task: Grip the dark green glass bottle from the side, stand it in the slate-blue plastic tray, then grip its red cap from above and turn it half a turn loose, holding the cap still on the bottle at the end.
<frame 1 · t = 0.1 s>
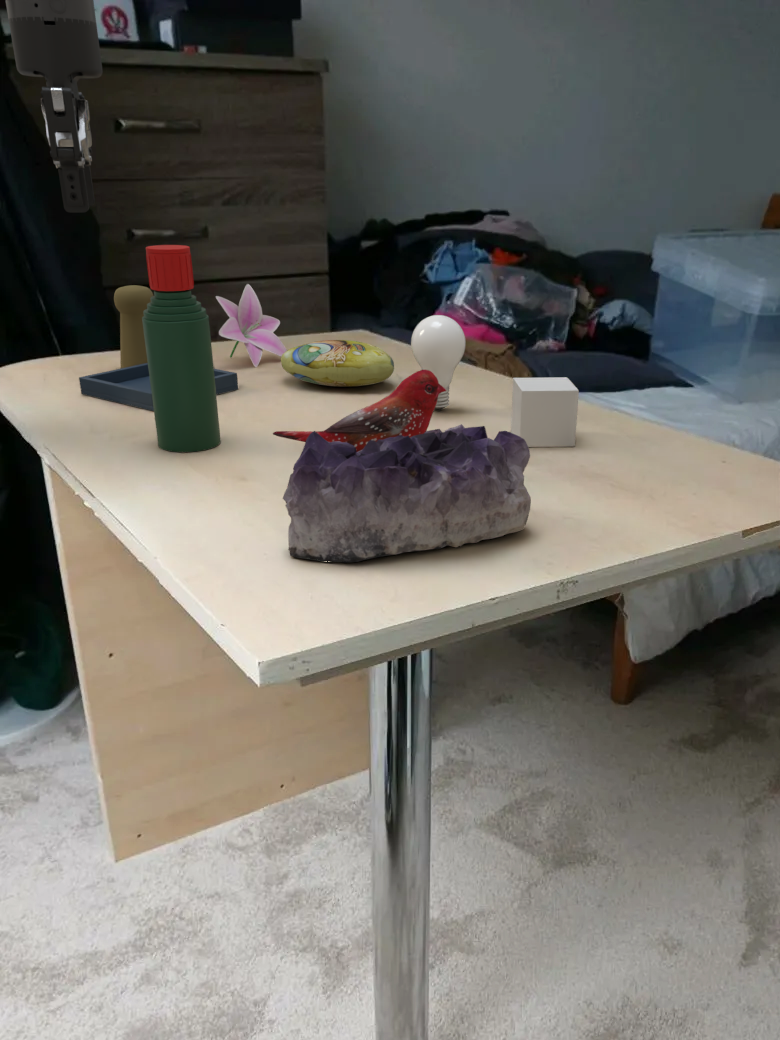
hand: (80, 208, 93), 23 cm above the table, tool pointing down, fingers open, 8 cm apart
lily: (252, 362, 136), on the table
geode: (408, 539, 77), on the table
cap: (168, 251, 91), point 19 cm above the table, screwed on, not yet turned
decorative bird figurine: (365, 485, 88), on the table
tray: (161, 391, 119), on the table
white cube: (541, 440, 103), on the table
lightbulb: (437, 411, 113), on the table
cork: (143, 370, 130), on the table
painted stone: (339, 385, 124), on the table
bottle: (189, 443, 99), on the table
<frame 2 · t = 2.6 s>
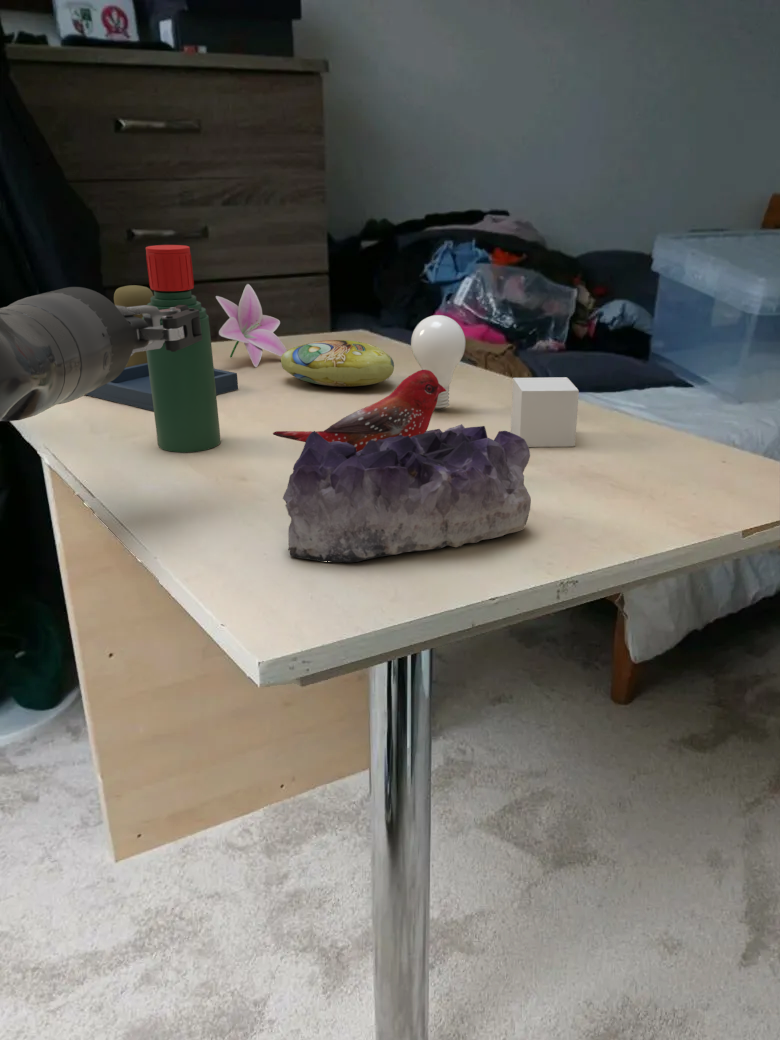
hand: (138, 317, 84), 15 cm above the table, tool horizontal, fingers open, 8 cm apart
nothing on the table moved.
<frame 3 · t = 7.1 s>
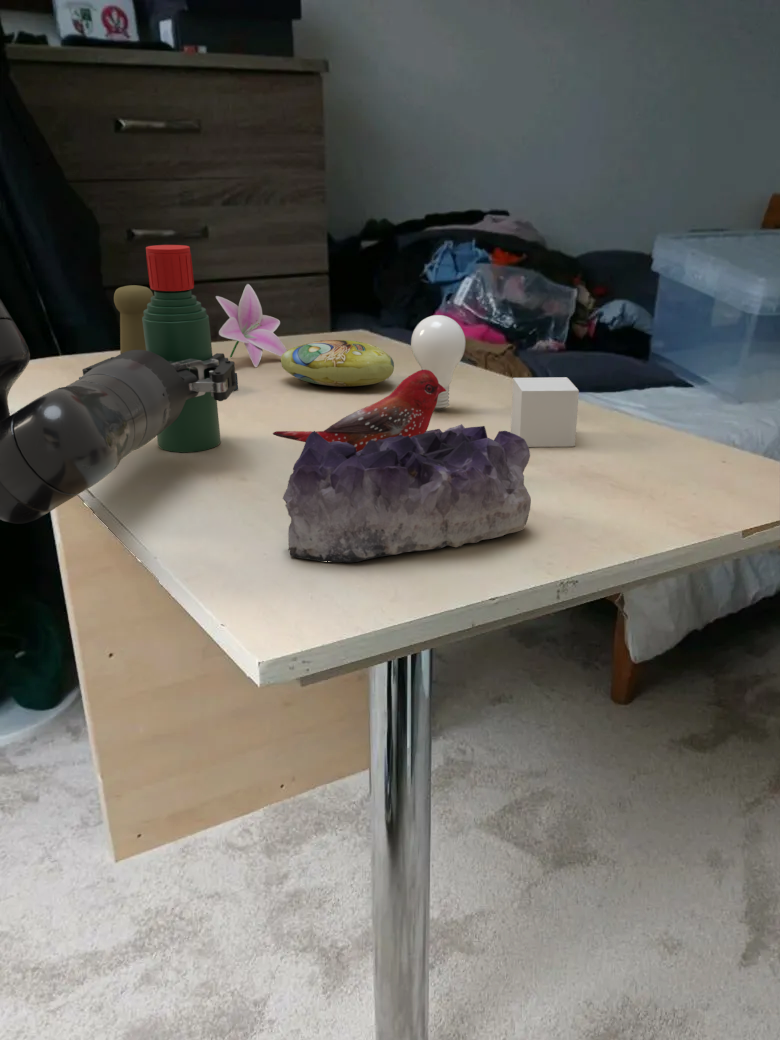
hand: (188, 362, 98), 8 cm above the table, tool horizontal, fingers closed on bottle, 6 cm apart
bottle: (189, 443, 99), on the table, touching gripper
everything else where it was.
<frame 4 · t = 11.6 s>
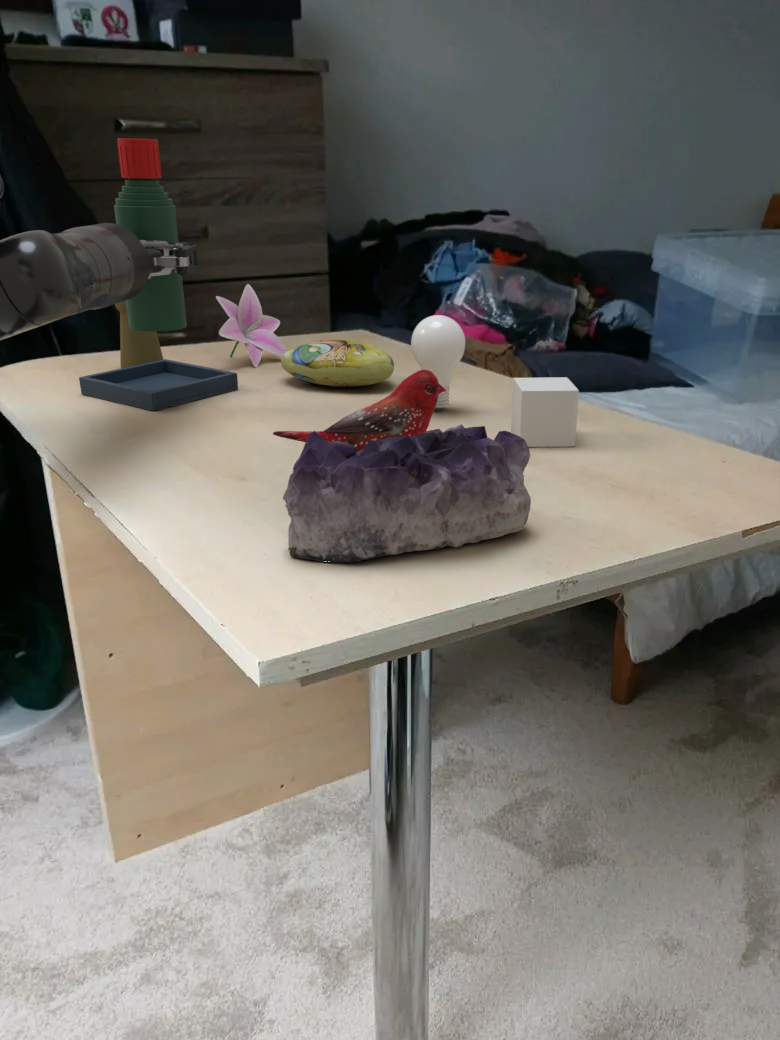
hand: (157, 251, 107), 17 cm above the table, tool horizontal, fingers closed on bottle, 6 cm apart
cap: (137, 143, 100), point 28 cm above the table, screwed on, not yet turned
bottle: (158, 326, 109), point 9 cm above the table, touching gripper
everything else where it was.
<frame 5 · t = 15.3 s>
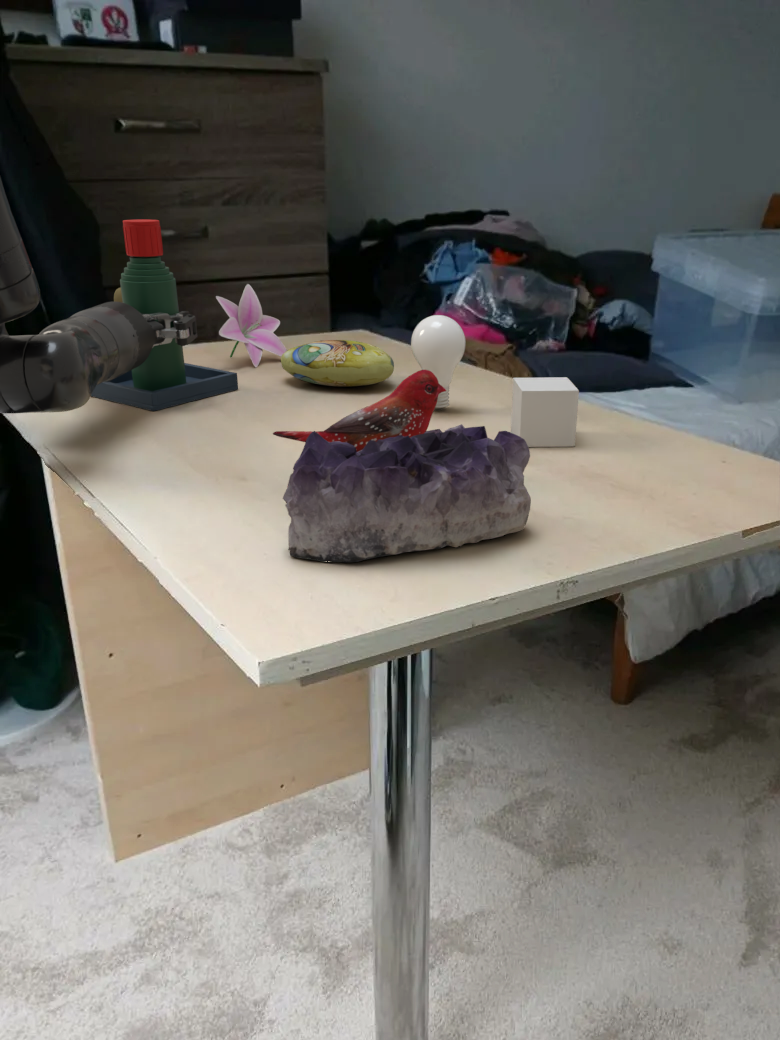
hand: (159, 318, 117), 9 cm above the table, tool horizontal, fingers closed on bottle, 6 cm apart
cap: (141, 224, 110), point 20 cm above the table, screwed on, not yet turned
bottle: (160, 387, 118), point 1 cm above the table, touching gripper, tray
everything else where it was.
when the fingers open (9 cm above the table, at t = 15.6 s): bottle stays where it is, resting on tray.
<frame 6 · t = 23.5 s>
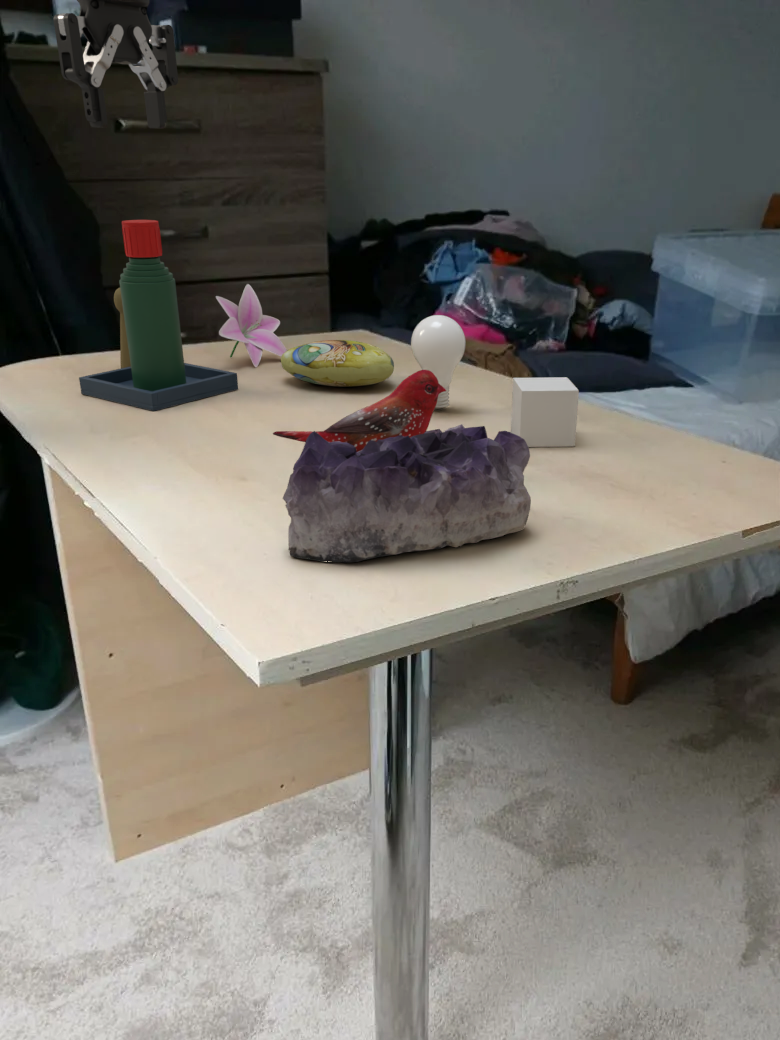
hand: (128, 127, 106), 30 cm above the table, tool pointing down, fingers open, 7 cm apart
bottle: (160, 387, 118), point 1 cm above the table, touching tray
everything else where it was.
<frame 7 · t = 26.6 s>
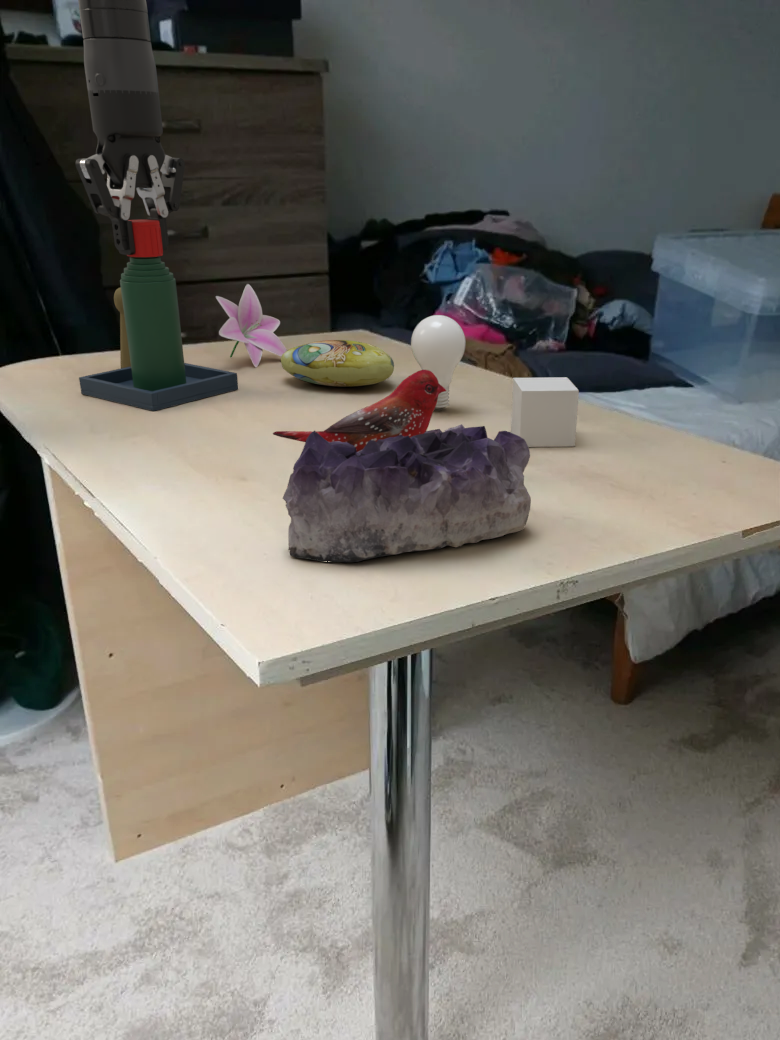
hand: (143, 252, 112), 17 cm above the table, tool pointing down, fingers closed on cap, 4 cm apart
cap: (141, 224, 110), point 20 cm above the table, screwed on, not yet turned, touching gripper
everything else where it was.
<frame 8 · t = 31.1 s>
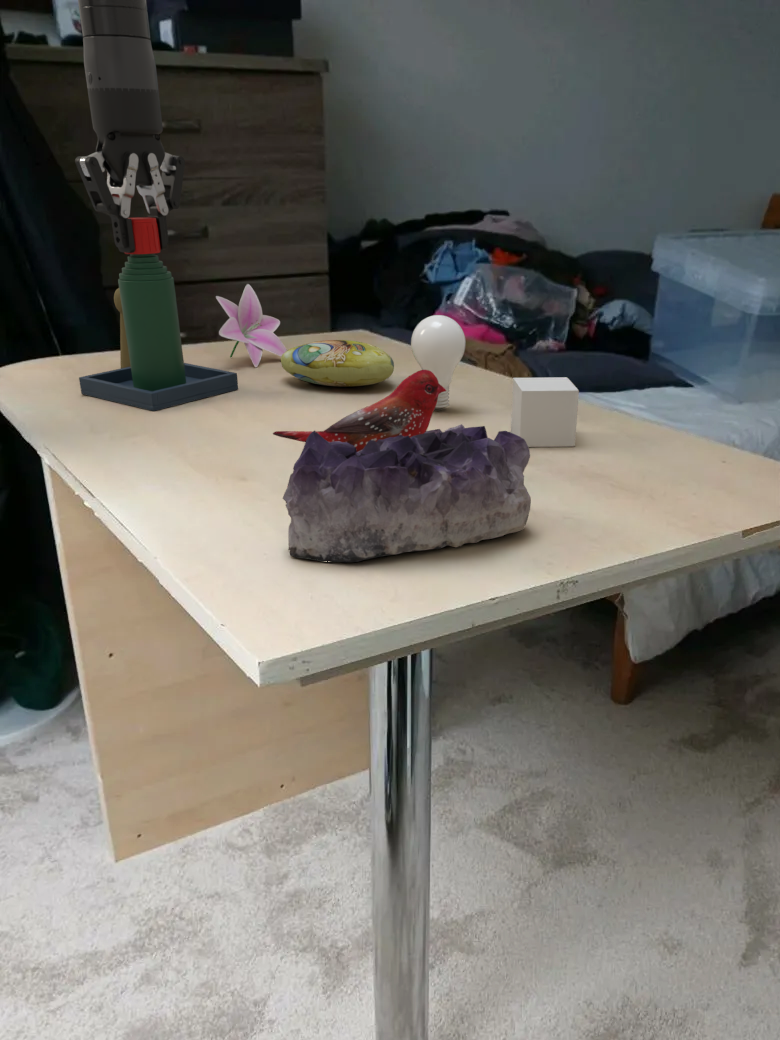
hand: (143, 249, 112), 17 cm above the table, tool pointing down, fingers closed on cap, 4 cm apart
cap: (138, 222, 110), point 20 cm above the table, turned 181° so far, risen 0.2 cm, still on its thread, touching gripper
everything else where it was.
at the end: bottle inside the target area in the tray (0.3 cm from its centre), point 0.7 cm above the tray's base; cap turned 0.50 turns (still on its thread); cap is still on its thread (0.50 turns) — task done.
